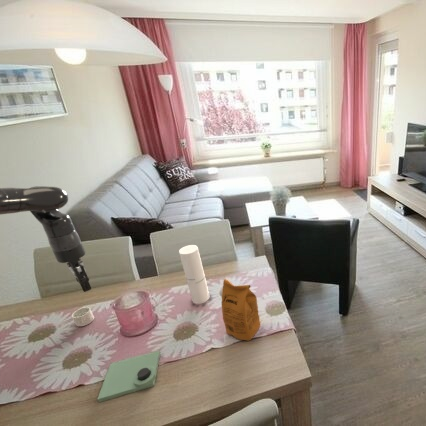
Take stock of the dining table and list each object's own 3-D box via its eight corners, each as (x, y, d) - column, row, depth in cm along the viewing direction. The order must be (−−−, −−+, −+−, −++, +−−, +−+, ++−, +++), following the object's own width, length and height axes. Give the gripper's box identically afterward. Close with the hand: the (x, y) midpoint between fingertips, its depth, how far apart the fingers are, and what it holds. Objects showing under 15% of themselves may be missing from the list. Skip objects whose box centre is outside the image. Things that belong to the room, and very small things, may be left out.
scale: (98, 404, 86) (94, 397, 85) (111, 366, 98) (108, 359, 97) (155, 387, 91) (153, 380, 89) (162, 352, 102) (160, 346, 101)
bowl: (73, 329, 114) (68, 319, 112) (79, 318, 119) (75, 309, 117) (91, 325, 116) (87, 315, 114) (96, 314, 121) (92, 305, 119)
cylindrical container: (195, 293, 131) (182, 245, 121) (211, 292, 131) (199, 244, 121) (190, 304, 124) (176, 254, 114) (207, 303, 125) (195, 253, 115)
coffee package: (239, 316, 117) (230, 270, 108) (264, 325, 112) (257, 278, 103) (221, 334, 109) (210, 286, 100) (248, 345, 104) (239, 296, 95)
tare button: (137, 382, 90) (136, 378, 89) (140, 373, 92) (138, 369, 92) (149, 378, 90) (147, 374, 90) (151, 370, 93) (149, 366, 93)
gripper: (48, 242, 97) (66, 282, 104) (56, 257, 88) (76, 299, 95) (75, 234, 102) (91, 273, 109) (86, 247, 94) (103, 288, 100)
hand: (84, 285), depth 102 cm, fingers open, 8 cm apart
